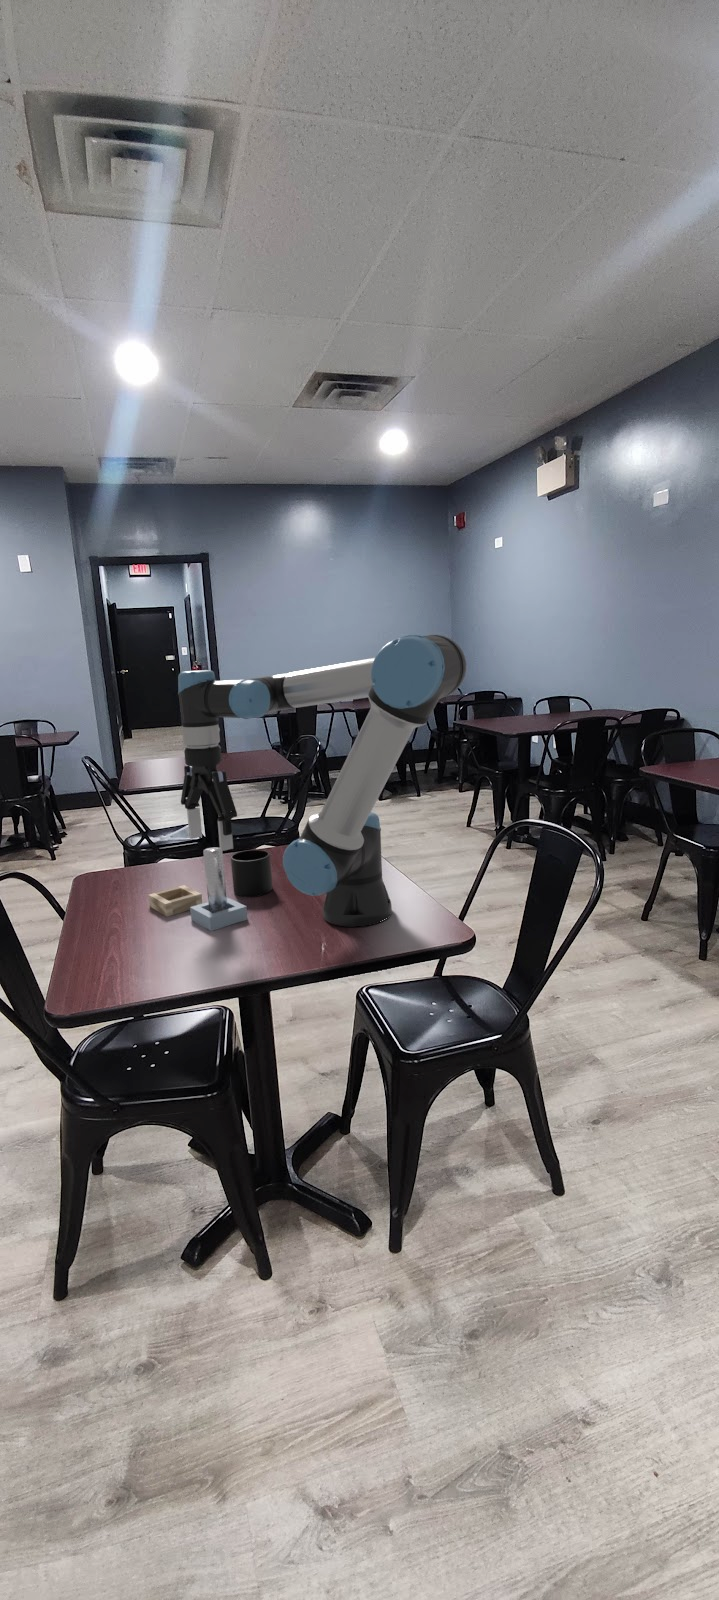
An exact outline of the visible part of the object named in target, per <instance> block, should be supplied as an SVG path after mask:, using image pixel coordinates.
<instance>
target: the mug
mask: <svg viewBox="0 0 719 1600" xmlns="http://www.w3.org/2000/svg"><path fill="white" fill-rule="evenodd" d="M230 864H231V865H230V866H231V874H232V884H233V885H232V887H233V893H234V894H235V895H236V896H239V897H246V898H247V897H252V898H253V897H257V896H258V897H259V896H263V895H265V894H268V893H270V892H271V891H272V890H273V877H272V863H271V854H270V852H269V851H268V850H263V849H248V850H247V849H246V850H242V851H238V852H236V853H234V854H232V855H231V856H230Z"/></svg>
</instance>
